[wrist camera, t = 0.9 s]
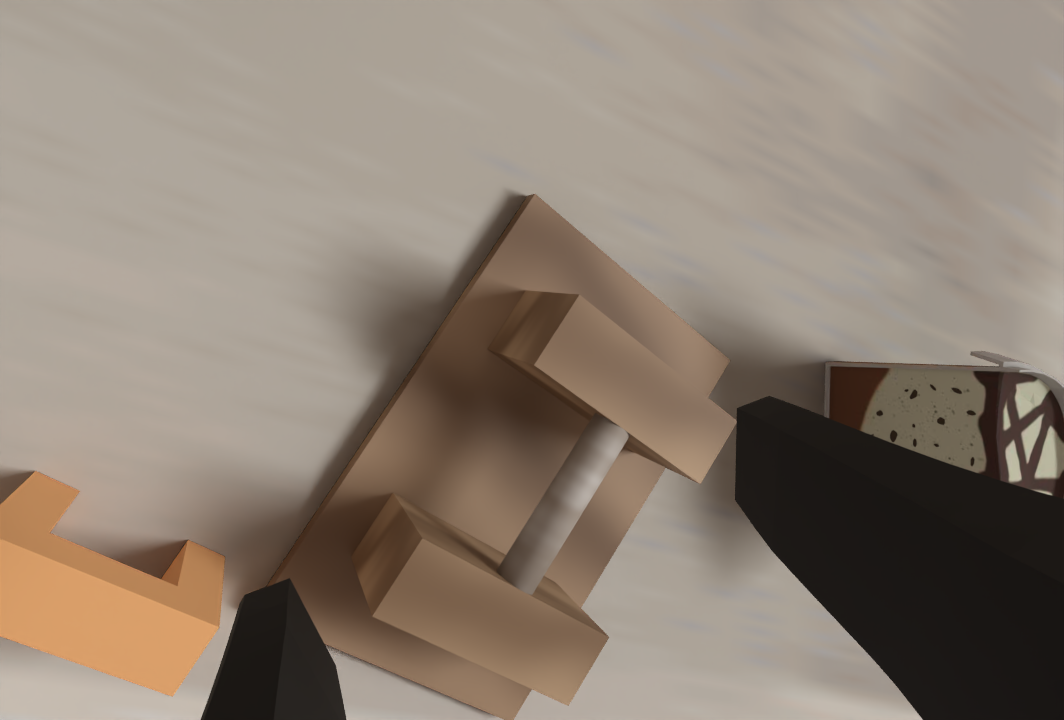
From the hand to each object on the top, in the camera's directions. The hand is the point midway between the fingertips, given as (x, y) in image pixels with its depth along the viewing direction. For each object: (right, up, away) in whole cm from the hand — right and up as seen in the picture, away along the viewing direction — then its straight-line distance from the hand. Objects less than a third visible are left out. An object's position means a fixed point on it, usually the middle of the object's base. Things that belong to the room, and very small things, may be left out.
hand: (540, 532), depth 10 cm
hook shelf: (-1, -2, +20) cm, 20 cm away
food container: (+19, -2, +28) cm, 34 cm away
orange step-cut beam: (-15, -4, +14) cm, 21 cm away
